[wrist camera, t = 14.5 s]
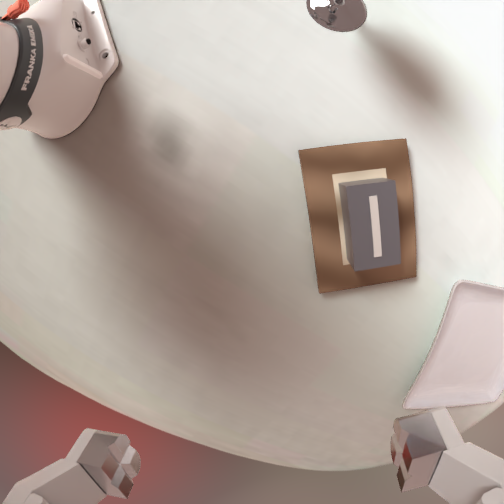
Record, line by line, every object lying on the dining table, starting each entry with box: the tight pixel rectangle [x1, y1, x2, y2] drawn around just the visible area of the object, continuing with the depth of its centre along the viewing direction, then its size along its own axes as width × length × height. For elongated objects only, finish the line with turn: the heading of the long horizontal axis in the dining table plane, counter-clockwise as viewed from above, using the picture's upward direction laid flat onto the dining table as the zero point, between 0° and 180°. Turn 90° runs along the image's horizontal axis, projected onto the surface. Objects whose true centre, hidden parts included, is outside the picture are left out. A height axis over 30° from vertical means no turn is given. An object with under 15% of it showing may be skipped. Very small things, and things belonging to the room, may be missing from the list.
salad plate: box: [403, 280, 504, 409], centre depth 37 cm, size 21×21×3 cm
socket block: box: [338, 178, 401, 271], centre depth 31 cm, size 8×5×4 cm, turn 11°
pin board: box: [298, 139, 416, 293], centre depth 32 cm, size 16×12×4 cm
